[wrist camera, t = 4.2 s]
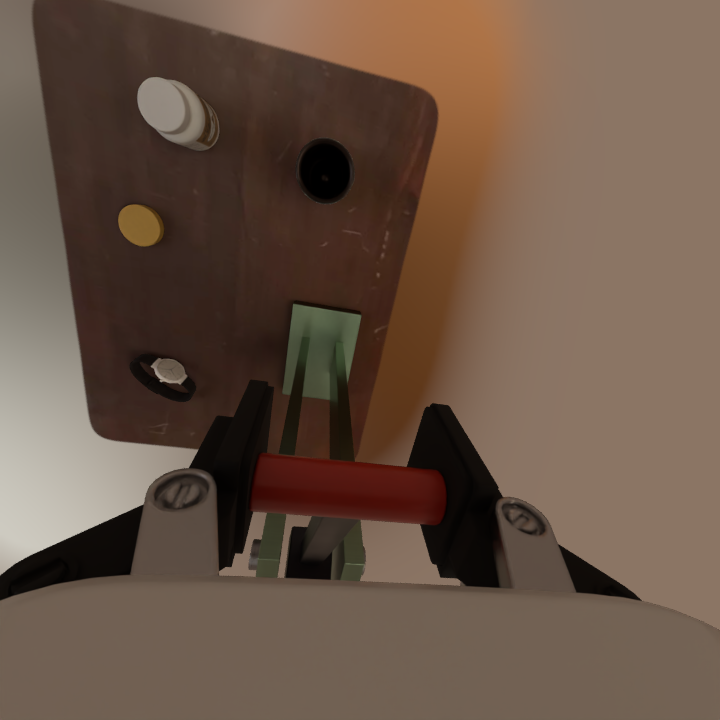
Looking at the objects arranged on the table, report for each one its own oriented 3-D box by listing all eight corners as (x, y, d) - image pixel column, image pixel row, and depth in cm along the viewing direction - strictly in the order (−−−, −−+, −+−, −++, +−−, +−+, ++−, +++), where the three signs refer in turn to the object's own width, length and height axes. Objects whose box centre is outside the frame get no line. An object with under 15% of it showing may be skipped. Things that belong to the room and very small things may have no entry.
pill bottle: (225, 148, 34) (199, 135, 27) (181, 153, 34) (142, 141, 27) (213, 94, 32) (181, 65, 25) (165, 99, 32) (120, 71, 25)
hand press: (294, 300, 41) (226, 493, 14) (360, 311, 42) (415, 508, 15) (283, 388, 46) (217, 658, 19) (343, 395, 47) (362, 660, 20)
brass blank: (114, 214, 36) (109, 214, 35) (148, 197, 35) (143, 197, 35) (140, 251, 37) (135, 252, 37) (172, 235, 37) (168, 236, 36)
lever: (263, 426, 9) (242, 524, 8) (442, 446, 10) (453, 539, 8) (265, 535, 20) (256, 584, 19) (350, 540, 21) (348, 588, 19)
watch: (206, 378, 44) (196, 392, 41) (186, 402, 46) (175, 418, 42) (149, 341, 42) (133, 354, 38) (130, 368, 43) (113, 383, 40)
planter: (314, 144, 35) (309, 124, 25) (355, 167, 36) (364, 156, 26) (297, 190, 36) (286, 187, 27) (337, 210, 37) (339, 214, 28)
